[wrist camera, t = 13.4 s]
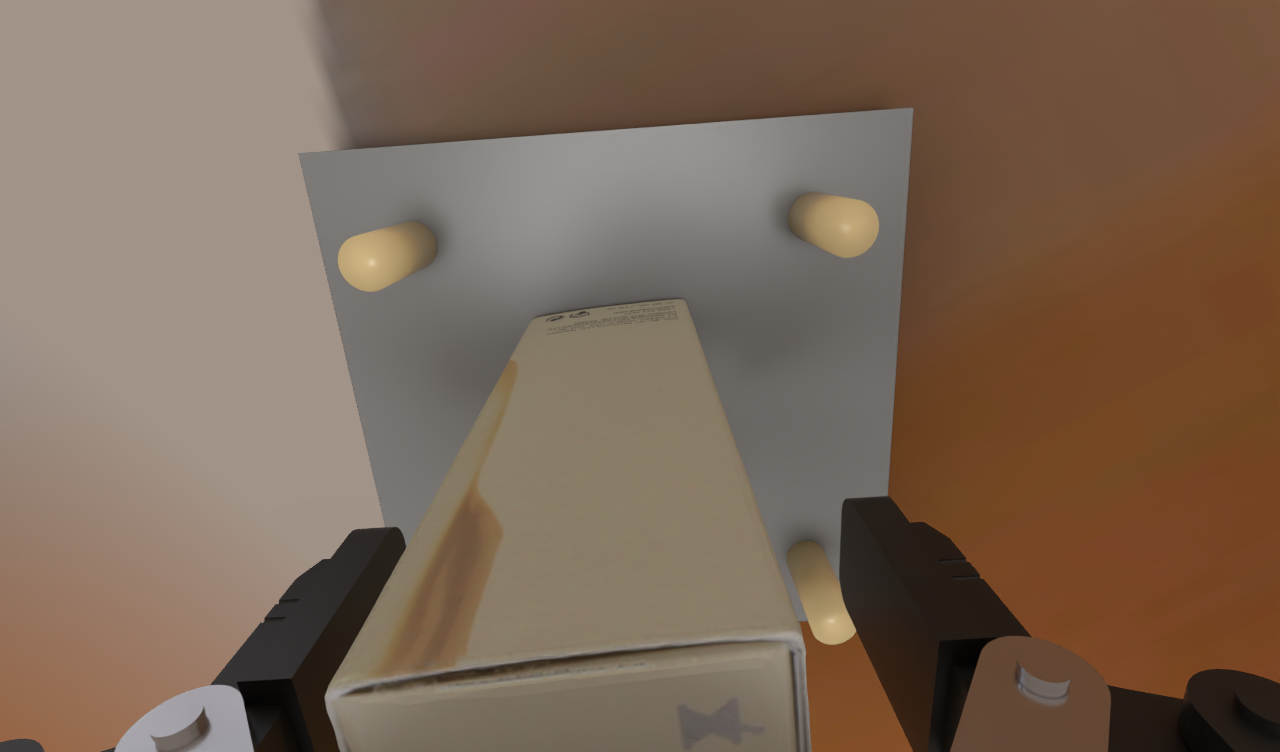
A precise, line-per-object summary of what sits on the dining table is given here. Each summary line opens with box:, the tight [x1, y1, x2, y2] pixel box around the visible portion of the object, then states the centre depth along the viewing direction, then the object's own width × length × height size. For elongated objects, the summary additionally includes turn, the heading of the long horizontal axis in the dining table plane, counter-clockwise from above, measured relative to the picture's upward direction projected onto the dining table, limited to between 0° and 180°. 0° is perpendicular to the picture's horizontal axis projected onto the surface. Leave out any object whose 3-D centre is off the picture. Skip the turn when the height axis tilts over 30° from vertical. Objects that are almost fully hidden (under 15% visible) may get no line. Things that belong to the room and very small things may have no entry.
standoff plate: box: [299, 108, 913, 645], centre depth 17 cm, size 15×15×4 cm
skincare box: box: [325, 299, 812, 752], centre depth 12 cm, size 6×4×12 cm
